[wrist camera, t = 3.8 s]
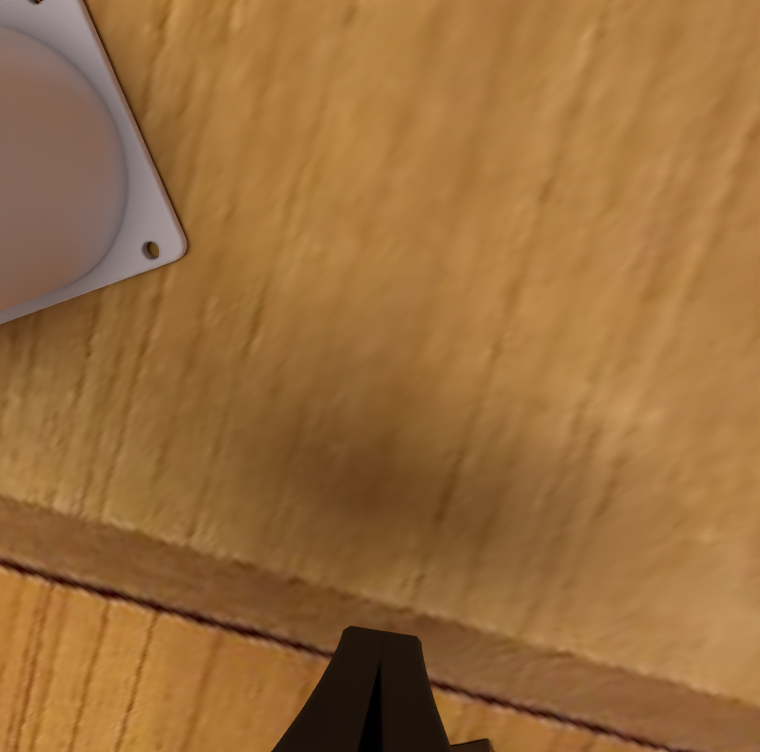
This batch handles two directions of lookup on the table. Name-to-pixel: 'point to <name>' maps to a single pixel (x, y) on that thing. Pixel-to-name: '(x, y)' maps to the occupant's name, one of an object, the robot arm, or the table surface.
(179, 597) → the table surface
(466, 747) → the stepped square riser
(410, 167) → the table surface
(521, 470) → the table surface
